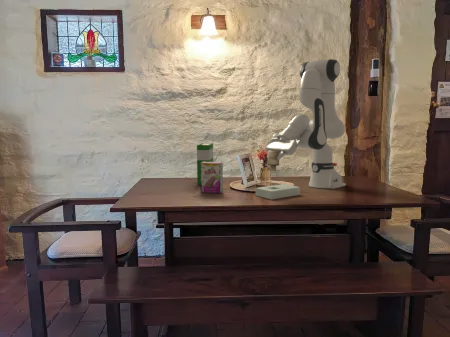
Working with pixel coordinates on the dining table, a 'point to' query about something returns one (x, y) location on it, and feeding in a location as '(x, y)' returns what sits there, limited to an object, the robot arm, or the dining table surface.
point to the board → (277, 191)
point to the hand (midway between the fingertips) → (272, 158)
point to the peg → (272, 160)
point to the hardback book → (203, 157)
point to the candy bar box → (211, 177)
